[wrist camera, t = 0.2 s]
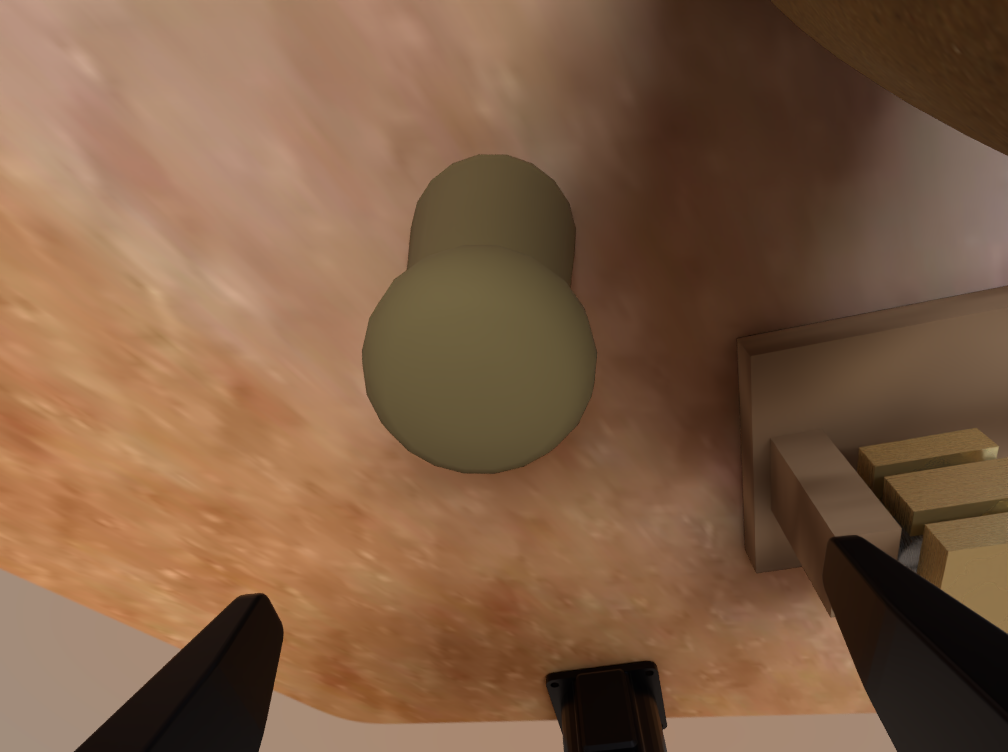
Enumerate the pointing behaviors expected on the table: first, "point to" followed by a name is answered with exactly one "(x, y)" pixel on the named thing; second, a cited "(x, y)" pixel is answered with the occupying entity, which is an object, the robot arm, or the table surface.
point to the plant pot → (923, 54)
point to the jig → (858, 416)
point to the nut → (950, 511)
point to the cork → (483, 323)
